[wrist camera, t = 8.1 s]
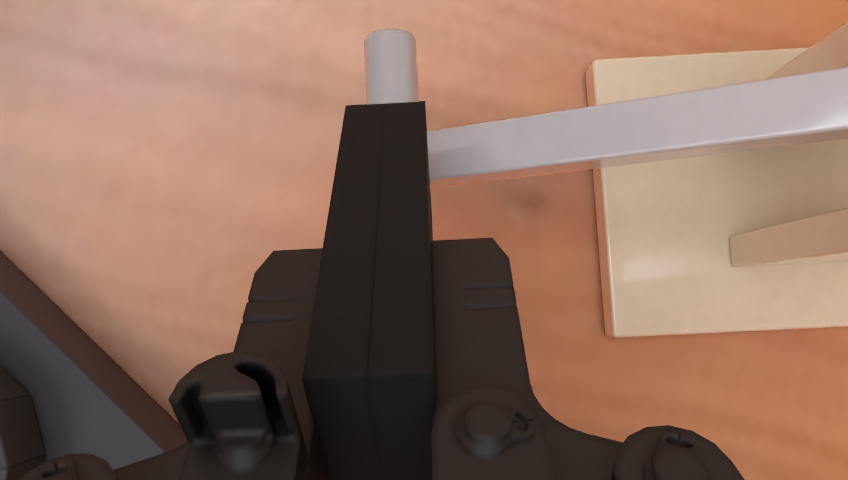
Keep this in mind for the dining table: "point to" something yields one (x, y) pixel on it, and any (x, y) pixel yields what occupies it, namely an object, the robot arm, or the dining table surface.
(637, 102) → the lever
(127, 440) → the panel
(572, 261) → the dining table surface
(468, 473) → the robot arm
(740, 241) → the bracket
